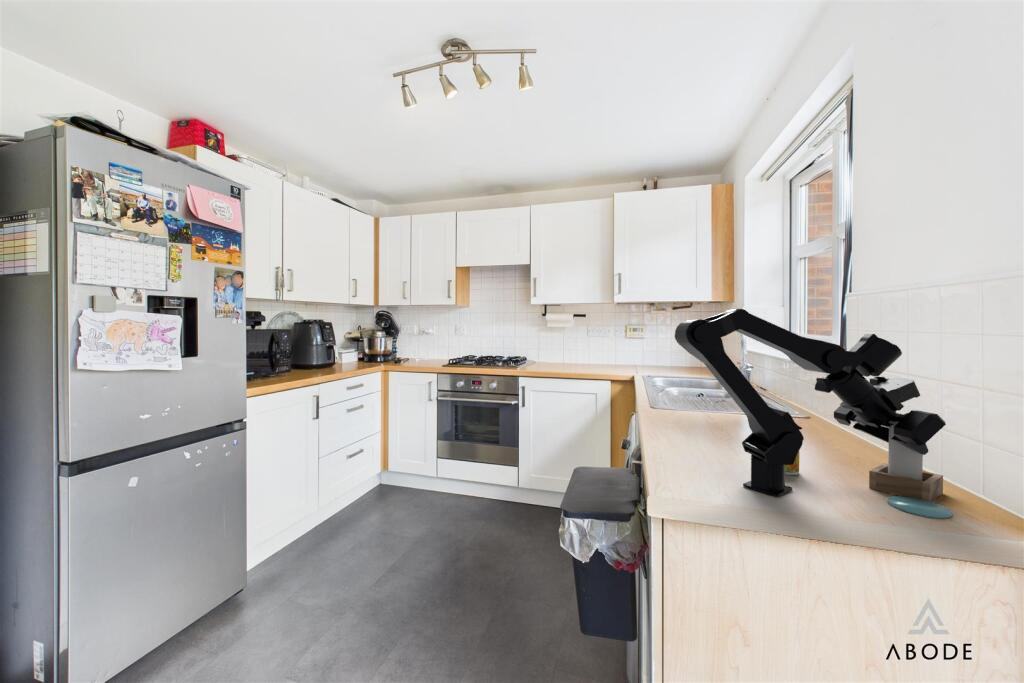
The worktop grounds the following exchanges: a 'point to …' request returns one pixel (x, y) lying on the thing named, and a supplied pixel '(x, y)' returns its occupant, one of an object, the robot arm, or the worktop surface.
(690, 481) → the worktop surface
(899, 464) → the beverage can
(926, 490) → the square wooden frame
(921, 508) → the teal disc
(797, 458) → the supplement bottle
